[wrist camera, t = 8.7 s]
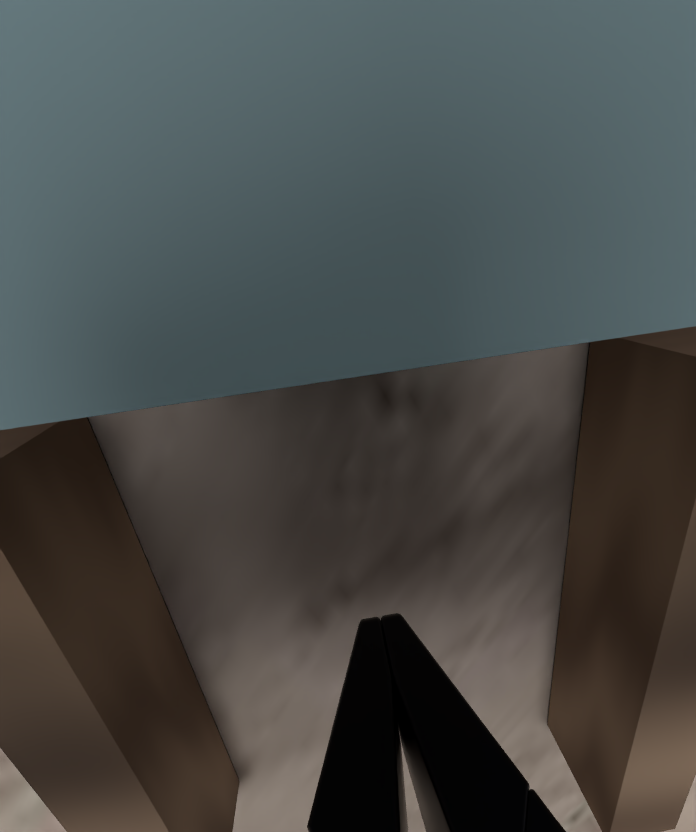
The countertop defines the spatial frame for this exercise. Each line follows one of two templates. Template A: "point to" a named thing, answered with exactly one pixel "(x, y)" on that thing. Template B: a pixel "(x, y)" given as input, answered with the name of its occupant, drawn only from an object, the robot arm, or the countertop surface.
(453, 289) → the slate-blue block
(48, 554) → the walnut chute
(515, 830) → the robot arm
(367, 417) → the countertop surface
